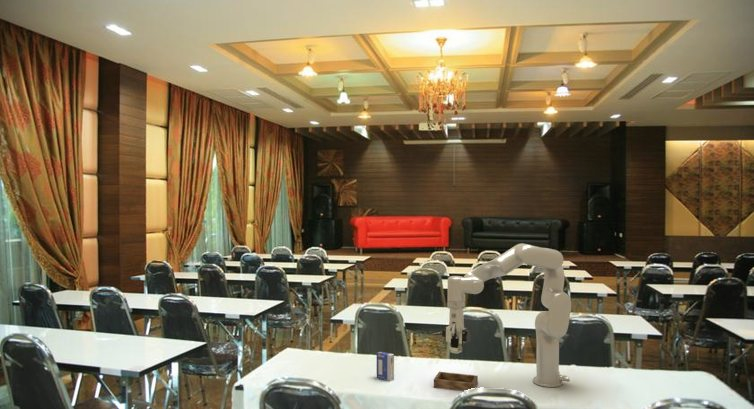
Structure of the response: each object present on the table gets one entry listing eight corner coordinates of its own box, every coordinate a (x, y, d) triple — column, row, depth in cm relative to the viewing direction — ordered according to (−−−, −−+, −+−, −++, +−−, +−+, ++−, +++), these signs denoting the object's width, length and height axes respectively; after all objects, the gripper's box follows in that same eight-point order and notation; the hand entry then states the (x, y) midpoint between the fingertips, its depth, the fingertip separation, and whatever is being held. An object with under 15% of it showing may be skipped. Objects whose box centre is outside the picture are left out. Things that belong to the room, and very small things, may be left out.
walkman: (376, 378, 243) (376, 352, 243) (379, 376, 246) (379, 350, 245) (391, 381, 239) (391, 354, 239) (394, 379, 241) (394, 353, 241)
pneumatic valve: (465, 356, 228) (466, 328, 228) (441, 351, 235) (441, 324, 235) (471, 353, 233) (471, 325, 233) (447, 348, 239) (447, 321, 239)
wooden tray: (477, 383, 236) (477, 375, 236) (473, 392, 226) (473, 384, 226) (439, 379, 242) (439, 371, 242) (433, 387, 231) (433, 379, 231)
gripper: (461, 308, 224) (461, 351, 224) (467, 301, 241) (467, 341, 241) (443, 307, 227) (443, 350, 227) (451, 300, 243) (451, 340, 243)
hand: (455, 345), depth 234 cm, fingers closed on pneumatic valve, 5 cm apart
